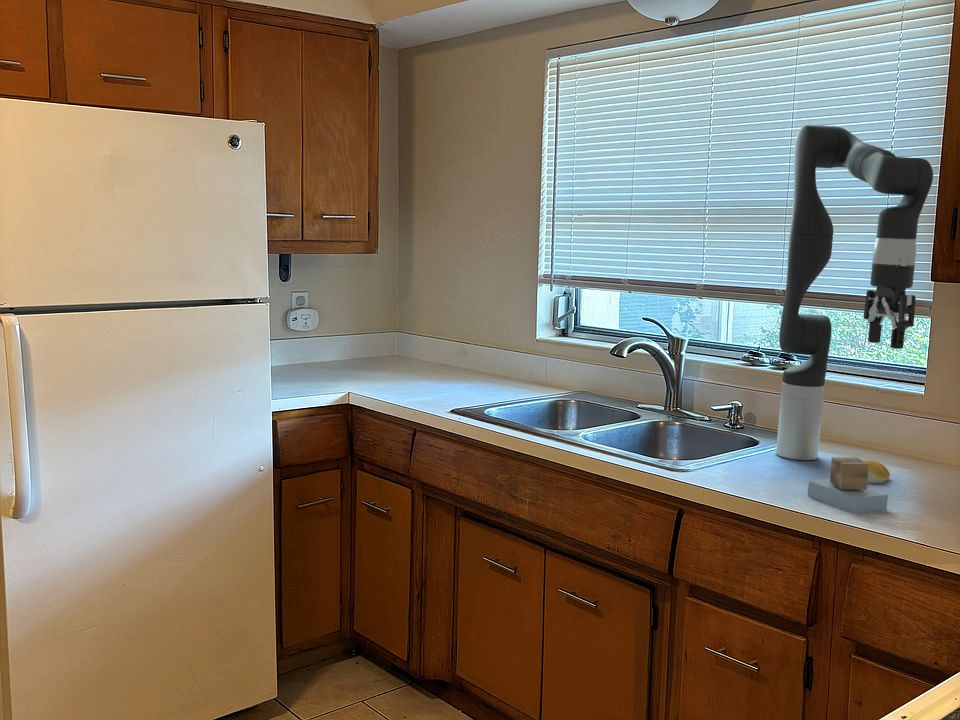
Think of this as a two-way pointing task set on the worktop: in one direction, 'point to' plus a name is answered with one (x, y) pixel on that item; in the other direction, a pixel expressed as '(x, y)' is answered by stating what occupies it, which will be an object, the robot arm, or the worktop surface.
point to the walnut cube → (849, 473)
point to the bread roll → (877, 472)
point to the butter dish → (848, 497)
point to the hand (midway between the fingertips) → (884, 345)
